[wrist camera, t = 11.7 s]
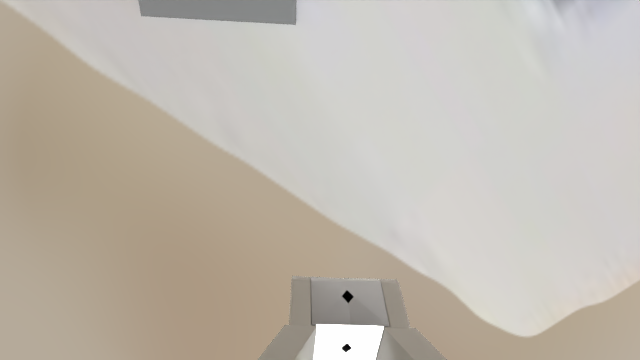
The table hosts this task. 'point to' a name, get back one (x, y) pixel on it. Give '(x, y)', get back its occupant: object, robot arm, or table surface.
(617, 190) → the table surface
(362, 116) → the table surface
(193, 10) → the mat
